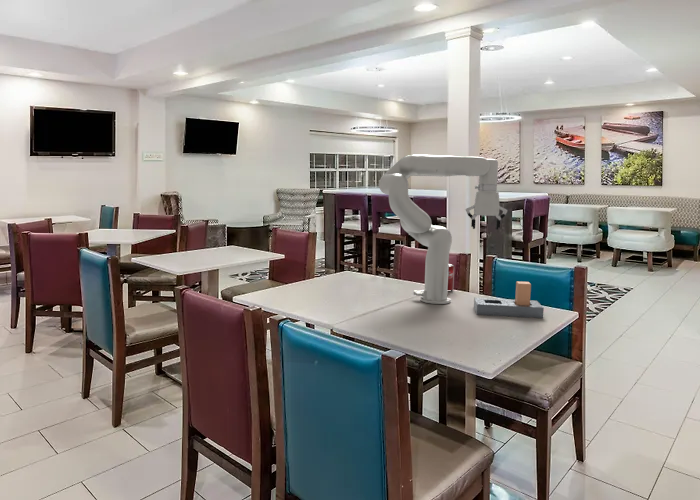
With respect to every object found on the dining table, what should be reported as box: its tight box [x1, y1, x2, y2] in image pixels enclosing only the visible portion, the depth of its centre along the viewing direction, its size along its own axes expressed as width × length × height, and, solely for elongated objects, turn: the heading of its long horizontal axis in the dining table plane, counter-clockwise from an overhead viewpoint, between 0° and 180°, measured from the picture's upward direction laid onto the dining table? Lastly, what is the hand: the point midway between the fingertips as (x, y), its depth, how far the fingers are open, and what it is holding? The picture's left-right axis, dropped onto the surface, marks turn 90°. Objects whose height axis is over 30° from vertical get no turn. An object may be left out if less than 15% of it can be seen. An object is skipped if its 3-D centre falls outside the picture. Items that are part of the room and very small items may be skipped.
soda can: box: [448, 263, 455, 291], centre depth 236 cm, size 7×7×12 cm
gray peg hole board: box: [473, 297, 545, 319], centre depth 195 cm, size 24×12×4 cm, turn 82°
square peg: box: [514, 281, 532, 305], centre depth 194 cm, size 5×5×12 cm
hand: (485, 229), depth 216 cm, fingers open, 9 cm apart
